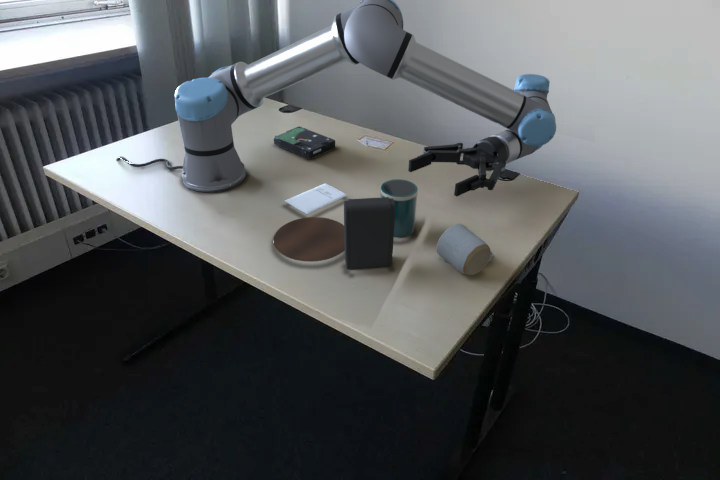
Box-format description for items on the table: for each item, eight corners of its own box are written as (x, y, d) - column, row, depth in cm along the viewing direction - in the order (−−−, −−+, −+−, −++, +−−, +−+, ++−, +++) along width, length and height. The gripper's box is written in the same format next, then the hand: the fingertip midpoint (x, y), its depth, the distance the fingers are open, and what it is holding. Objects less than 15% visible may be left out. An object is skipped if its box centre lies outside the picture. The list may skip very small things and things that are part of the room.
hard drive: (284, 206, 119) (324, 188, 126) (307, 220, 114) (347, 200, 121) (283, 200, 118) (324, 182, 125) (306, 213, 113) (347, 194, 120)
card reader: (389, 259, 102) (393, 194, 94) (393, 272, 99) (397, 205, 91) (344, 262, 102) (343, 196, 93) (346, 275, 98) (345, 208, 90)
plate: (259, 256, 103) (258, 250, 102) (295, 216, 115) (294, 211, 115) (333, 274, 98) (333, 268, 98) (362, 231, 111) (362, 225, 110)
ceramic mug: (463, 283, 97) (469, 250, 92) (433, 261, 102) (438, 229, 98) (501, 264, 102) (509, 232, 97) (471, 245, 107) (477, 213, 103)
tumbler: (374, 238, 109) (375, 192, 102) (385, 220, 114) (387, 176, 108) (408, 246, 106) (412, 200, 100) (418, 227, 112) (422, 182, 106)
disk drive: (336, 149, 145) (299, 134, 153) (336, 139, 143) (298, 125, 151) (310, 161, 138) (273, 145, 146) (309, 151, 137) (272, 135, 144)
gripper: (537, 186, 115) (475, 217, 104) (453, 148, 131) (391, 172, 120) (544, 155, 111) (480, 184, 100) (457, 120, 127) (393, 142, 115)
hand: (431, 177), depth 110 cm, fingers open, 13 cm apart
